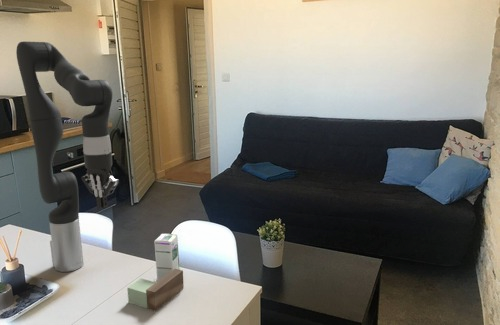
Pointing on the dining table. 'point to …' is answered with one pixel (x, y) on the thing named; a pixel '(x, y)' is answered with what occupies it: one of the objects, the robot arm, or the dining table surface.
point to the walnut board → (164, 289)
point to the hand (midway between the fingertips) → (102, 208)
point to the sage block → (139, 292)
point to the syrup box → (166, 254)
